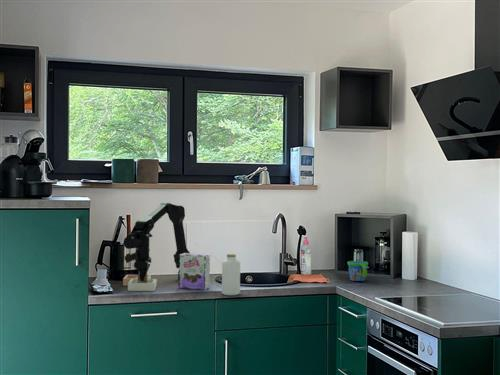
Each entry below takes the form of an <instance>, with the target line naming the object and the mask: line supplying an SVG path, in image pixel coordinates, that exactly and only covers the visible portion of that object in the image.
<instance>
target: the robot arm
mask: <svg viewBox="0 0 500 375" xmlns="http://www.w3.org/2000/svg"><path fill="white" fill-rule="evenodd" d="M166 214H167V216H168V218H169V220H170V221H171V223H172V228H173V233H174V240H175V247H176V251H175V253H174V254H173V262H174V263H175V268H176V269H179V258H180V254H182V253H190V254H191V252H190V251H189V249H188V248H187V242H186V241H187V240H186V236H185V230H184V229H185V227H184V223H183V221H184V219H185V217H186V212H185V207H184V206H183V205H180V204H179V205H178V204H173V203H170V202H161V203H160V204H159V206H157V207H156V208H155V209H154V210H152V211H151V212H150V213H149V214H148V215H147V216H144V217H141V218H140V219H138V220H136V222H135V224H134V226H133V227H132V230H131V232H130V233H127V235H126V237H125V238H124V240H123V246H124V247H125V249H127V250H129V249H135V252H133V253H130V252H129V253H126V254H125V255H124V257H123V258H124V261H125V263H126V264H128V263H130V262H132V261H133V262H134V263H133V268H135V269H137V271H138V274H140V279H141V281H144V278H145V275H146V273H147V274H148V271H149V269H150V267H151V263H152V257H150V238H152V237H153V234H151V231H152V230H153V229H154V227H155V224H156V223H157V222H158V221H159V220H160V219H162V217H164V216H165V215H166ZM177 280H178V281H179V270H178V272H177Z"/></svg>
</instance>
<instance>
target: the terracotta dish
mask: <svg viewBox="0 0 500 375" xmlns="http://www.w3.org/2000/svg"><path fill="white" fill-rule="evenodd" d="M136 277H138V274H126V275H125V276H124V277H123V278H122V286H123V287H128V283H129V281H130V280H131V279H138V278H136ZM151 277H152V275H151V274H147V279H152V278H151Z"/></svg>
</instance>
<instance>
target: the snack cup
mask: <svg viewBox="0 0 500 375" xmlns="http://www.w3.org/2000/svg"><path fill="white" fill-rule="evenodd" d="M347 265H348V273H349V279H350V281H351V280H355V281H363V282H365V281H366V277H367V276H368V265H369V262H368V261H365V260H364V261H362V260H349V261H347ZM364 280H365V281H364Z"/></svg>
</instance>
